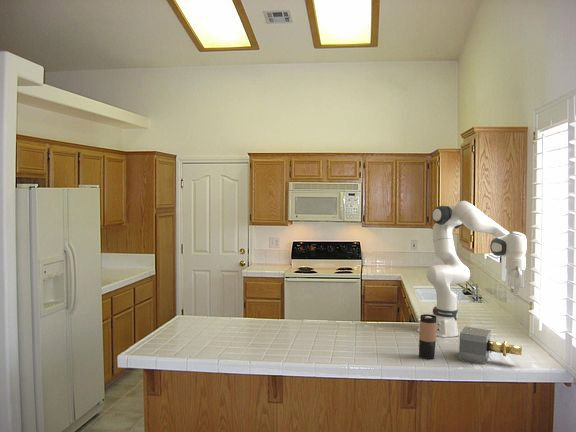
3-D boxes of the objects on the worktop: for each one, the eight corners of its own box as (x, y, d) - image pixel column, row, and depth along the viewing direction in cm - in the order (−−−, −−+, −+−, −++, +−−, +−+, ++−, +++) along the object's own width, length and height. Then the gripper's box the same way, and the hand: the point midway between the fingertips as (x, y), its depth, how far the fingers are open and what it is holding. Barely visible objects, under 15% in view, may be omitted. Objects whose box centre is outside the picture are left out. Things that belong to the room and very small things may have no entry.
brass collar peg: (485, 354, 250) (486, 340, 250) (487, 350, 256) (488, 336, 256) (520, 360, 243) (521, 345, 243) (521, 356, 249) (522, 341, 249)
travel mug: (432, 354, 259) (434, 314, 258) (436, 360, 251) (439, 318, 250) (416, 354, 258) (418, 314, 257) (420, 359, 251) (422, 317, 250)
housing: (458, 359, 253) (460, 332, 252) (463, 352, 265) (465, 326, 264) (485, 364, 247) (486, 336, 246) (489, 356, 259) (490, 330, 259)
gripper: (526, 268, 247) (524, 298, 248) (519, 263, 267) (517, 290, 268) (511, 267, 249) (510, 297, 249) (505, 262, 268) (504, 289, 269)
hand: (513, 293), depth 259 cm, fingers open, 8 cm apart
